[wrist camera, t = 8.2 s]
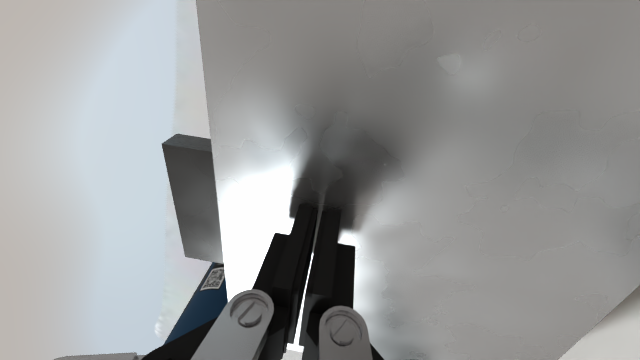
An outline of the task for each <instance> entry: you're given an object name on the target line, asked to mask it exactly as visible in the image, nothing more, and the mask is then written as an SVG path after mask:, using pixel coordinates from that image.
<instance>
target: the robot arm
mask: <svg viewBox="0 0 640 360" xmlns="http://www.w3.org/2000/svg"><path fill="white" fill-rule="evenodd" d="M317 214H318V210H317V209H313V205H309V204H303V203H300V204H299V207H298V210H297V213H296V216H295V219H294V222H293V225H292V228H291V231H290V234H284V233H279V232H275V233H274V235H273V237H272V240H271V242H270V245H269V247H268V249H267V252H266V254H265V257H264V259H263V262H262V264H261V267H260V269H259V272H258V274H257V277H256V279H255V282H254V284H253V287H252V289H249V290H244V291H241V292H239V293H237V294H236V295H234V296H233V297H232V298H231V299H230V300H229V302H228V303H227V304H226V306H225V308H224V309H223V311H222V312H221V314H220V315H219V316H218V317H216V318H214V319H212V320H210V321H209V322H207V323H205V324H203V325H201V326H199V327H197V328H195V329H193V330H191V331H189V332H188V333H186V334H184V335H182V336H180V337H178V338H176V339H174V340H172V341H170V342H168V343H167V344H165V345H163V346H161V347H159V348H157V349H155V350H153V351H152V352H150V353H149V354H147V355H137V353H118V354H99V355H80V356H66V357H61V358H57V359H54V360H281V359H282V357H283V353H286V349H287V344H294V340H295V335H296V330H297V326H298V321H299V316H300V311H301V307H302V302H303V297H304V292H305V297H304V304H303V312H302V320H301V328H300V336H299V344H298V345H299V346H304V349H303V355H302V360H384V359H383V357H382V356H381V355H380V354H379V353H378V351H377V350H376V349H375V348H374V347H373V346H372V344H371V343H370V340H369V334H368V329H367V325H366V322H365V321H364V319H363V318H362V316H361V315H360V314H359V313H358V312H357V311H355V310H354V309H353V303H354V276H355V246H352V245H347V244H341V243H338V235H339V226H340V217H341V210H338V209H332V208H328V211H323V210H322V214H321V218H320V223H319V228H318V233H317V237H316V242H315V247H314V252H313V256H312V251H313V244H314V236H315V229H316V221H317ZM311 258H312V261H311ZM310 264H311V266H310ZM309 269H310V271H309ZM308 274H309V275H308ZM307 278H308V280H307ZM306 283H307V285H306ZM305 288H306V291H305Z"/></svg>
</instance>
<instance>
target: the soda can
mask: <svg viewBox="0 0 640 360" xmlns="http://www.w3.org/2000/svg"><path fill="white" fill-rule="evenodd" d="M227 303H228V294H227V285H226V276H225V266H224V264H221V263H216V262H212V264H211V266H210V267H209V269H208V271H207V273H206V274H205V276H204V278H203V279H202V281H201V283H200V284H199V286H198V288H197V289H196V291H195V293H194V294H193V296H192V298H191V299H190V301H189V303H188V304H187V306H186V308H185V309H184V311H183V313H182V315H181V316H180V318H179V320H178V321H177V323H176V325H175V326H174V328H173V330H172V331H171V333H170V335H169V336H168V338H167V340H166V341H165V343H164V345H165V344H167V343H168V342H170V341H172V340H174V339H176V338H178V337H180V336H182V335H184V334H186V333H188V332H189V331H191V330H193V329H195V328H197V327H199V326H201V325H203V324H205V323H207V322H209V321H210V320H212V319H214V318H216V317H218V316H219V315H220V314H221V312H222V311H223V309H224V308H225V306H226V304H227Z"/></svg>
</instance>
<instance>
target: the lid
mask: <svg viewBox="0 0 640 360" xmlns="http://www.w3.org/2000/svg"><path fill="white" fill-rule="evenodd" d="M196 5H197V14H198V24H199V33H200V42H201V52H202V61H203V70H204V80H205V89H206V98H207V108H208V117H209V126H210V136H211V139H207V138H201V137H194V136H188V135H182V134H176V135H174V136H173V137H171V138H170V139H168V140H167V141H166V142H164V143H162V148H163V152H164V157H165V162H166V167H167V172H168V176H169V181H170V186H171V191H172V196H173V200H174V205H175V210H176V215H177V219H178V224H179V229H180V234H181V238H182V243H183V248H184V253H185V257H189V258H194V259H200V260H205V261H210V262H216V263H221V264H224V266H225V276H226V285H227V294H228V302H229V300H230V299H231V298H232V297H233V296H234V295H236V294H237V293H239V292H241V291H244V290H249V289H252V287H253V284H254V282H255V279H256V277H257V274H258V272H259V269H260V267H261V264H262V262H263V259H264V257H265V254H266V252H267V249H268V247H269V245H270V242H271V240H272V237H273V235H274V233H275V232H279V233H284V234H290V231H291V228H292V225H293V222H294V219H295V216H296V213H297V210H298V207H299V204H300V203H303V204H309V205H313V209H317V210H318V214H317V221H316V229H315V236H314V244H313V251H312V256H313V252H314V247H315V242H316V237H317V233H318V228H319V223H320V218H321V214H322V210H323V211H328V208H332V209H338V210H341V217H340V226H339V235H338V243H341V244H347V245H352V246H355V276H354V303H353V309H354V310H355V311H357V312H358V313H359V314H360V315H361V316H362V318H363V319H364V321H365V322H366V325H367V329H368V334H369V340H370V343H371V344H372V346H373V347H374V348H375V349H376V350H377V351H378V353H379V354H380V355H381V356H382V357H383V359H384V360H558V359H559V358H560V357H561V356H562V355H563V354H565V353H566V352H567V351H568V350H569V349H570V348H571V347H572V346H573V345H575V344H576V343H577V342H578V341H579V340H580V339H581V338H582V337H583V336H584V335H586V334H587V333H588V332H589V331H590V330H591V329H592V328H593V327H594V326H595V325H597V324H598V323H599V322H600V321H601V320H602V319H603V318H604V317H605V316H606V315H608V314H609V313H610V312H611V311H612V310H613V309H614V308H615V307H616V306H617V305H619V304H620V303H621V302H622V301H623V300H624V299H625V298H626V297H627V296H628V295H630V294H631V293H632V292H633V291H634V290H635V289H636V288H637V287H638V286H640V0H196ZM311 261H312V258H311ZM310 266H311V264H310ZM309 271H310V269H309ZM308 275H309V274H308ZM307 280H308V278H307ZM306 285H307V283H306ZM305 291H306V288H305ZM304 297H305V292H304ZM304 297H303V302H302V307H301V311H300V316H299V321H298V326H297V330H296V335H295V340H294V344H287V349H290V350H295V351H300V352H303V349H304V346H299V345H298V344H299V336H300V328H301V320H302V312H303V304H304Z"/></svg>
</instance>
